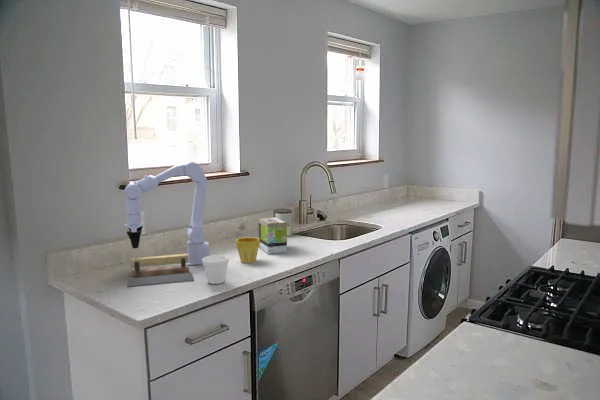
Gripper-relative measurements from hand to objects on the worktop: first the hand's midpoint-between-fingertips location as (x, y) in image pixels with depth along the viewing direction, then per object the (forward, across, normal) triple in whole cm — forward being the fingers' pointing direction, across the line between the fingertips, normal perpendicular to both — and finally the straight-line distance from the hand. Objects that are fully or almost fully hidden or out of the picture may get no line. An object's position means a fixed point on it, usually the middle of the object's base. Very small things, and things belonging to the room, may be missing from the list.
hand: (136, 245), depth 191 cm
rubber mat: (+10, +18, +9) cm, 23 cm away
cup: (+10, +27, +30) cm, 41 cm away
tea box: (+11, -14, +61) cm, 64 cm away
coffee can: (+11, -44, +74) cm, 87 cm away
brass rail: (+7, +7, +9) cm, 13 cm away
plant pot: (+11, +2, +46) cm, 48 cm away
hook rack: (+10, +7, +9) cm, 16 cm away
